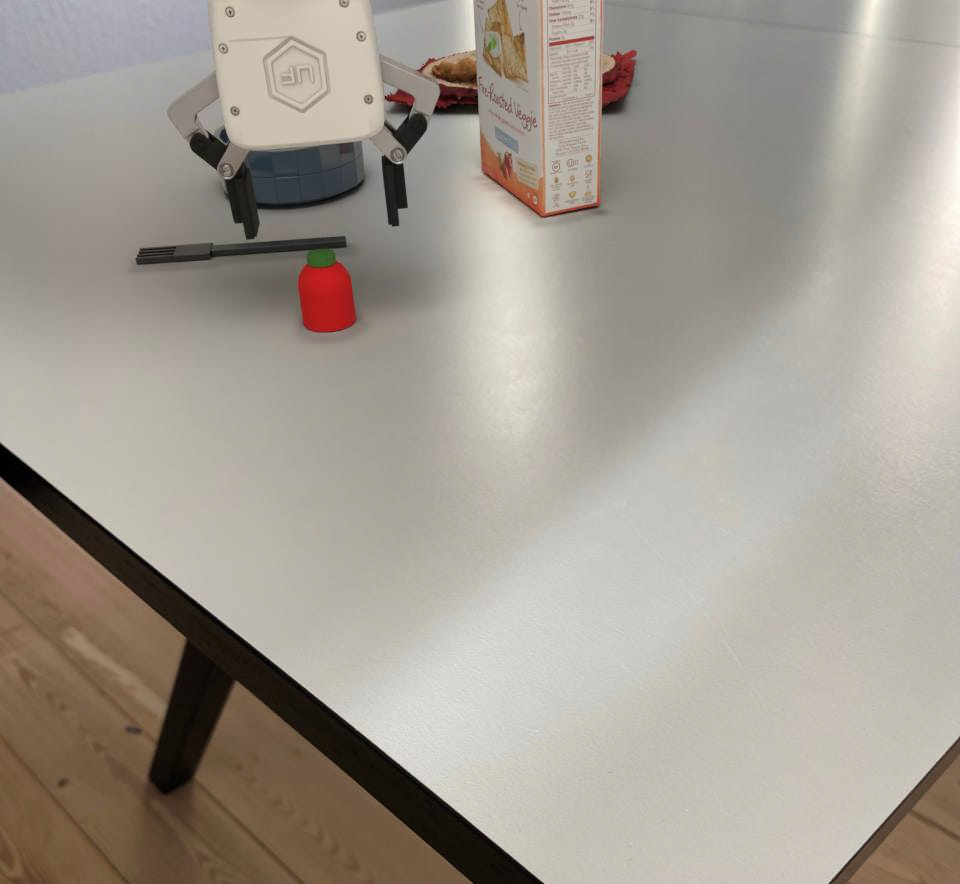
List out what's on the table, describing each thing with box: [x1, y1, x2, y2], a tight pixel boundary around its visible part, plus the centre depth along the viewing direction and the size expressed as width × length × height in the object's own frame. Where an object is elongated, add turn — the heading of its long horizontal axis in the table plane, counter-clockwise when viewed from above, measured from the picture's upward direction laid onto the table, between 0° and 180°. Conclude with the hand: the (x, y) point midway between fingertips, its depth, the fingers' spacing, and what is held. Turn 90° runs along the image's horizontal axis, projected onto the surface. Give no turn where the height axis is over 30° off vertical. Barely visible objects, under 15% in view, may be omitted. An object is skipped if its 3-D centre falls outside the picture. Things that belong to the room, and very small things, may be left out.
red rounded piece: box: [297, 248, 357, 333], centre depth 79 cm, size 4×4×5 cm
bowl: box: [212, 124, 366, 206], centre depth 103 cm, size 13×13×5 cm
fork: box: [135, 235, 347, 265], centre depth 92 cm, size 2×17×1 cm, turn 95°
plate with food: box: [384, 49, 638, 110], centre depth 127 cm, size 24×26×3 cm
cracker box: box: [472, 0, 605, 217], centre depth 94 cm, size 14×6×21 cm, turn 22°
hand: (323, 226), depth 76 cm, fingers open, 9 cm apart
